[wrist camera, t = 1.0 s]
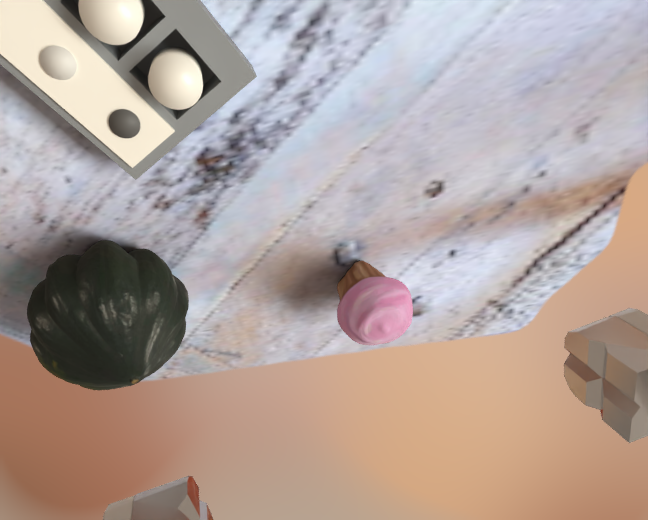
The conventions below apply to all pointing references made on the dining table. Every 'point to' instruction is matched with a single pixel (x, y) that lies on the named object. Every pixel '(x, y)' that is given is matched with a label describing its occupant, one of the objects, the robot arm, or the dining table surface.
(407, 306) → the cupcake
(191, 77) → the button
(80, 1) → the button
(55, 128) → the dining table surface
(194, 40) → the button board
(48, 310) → the squash
